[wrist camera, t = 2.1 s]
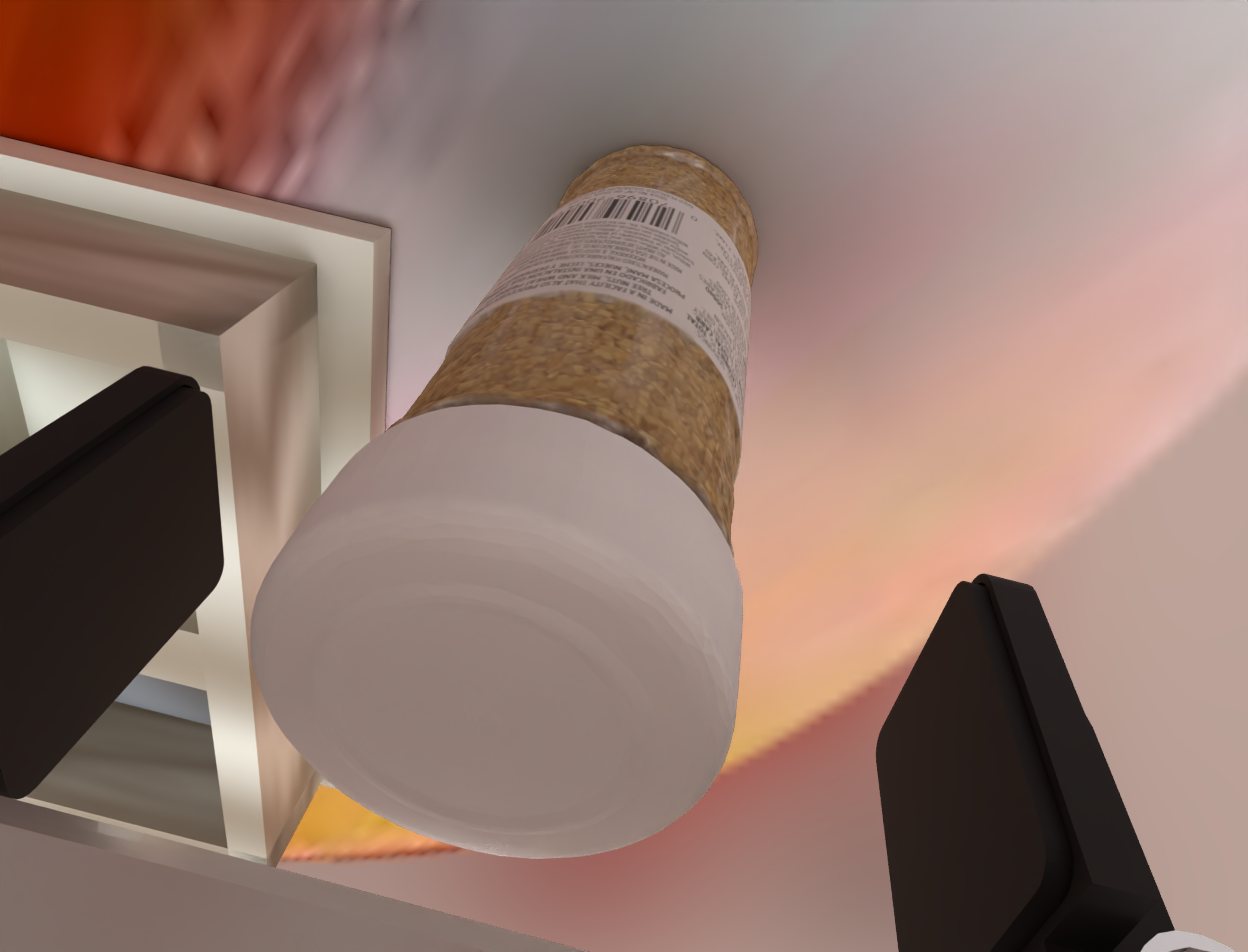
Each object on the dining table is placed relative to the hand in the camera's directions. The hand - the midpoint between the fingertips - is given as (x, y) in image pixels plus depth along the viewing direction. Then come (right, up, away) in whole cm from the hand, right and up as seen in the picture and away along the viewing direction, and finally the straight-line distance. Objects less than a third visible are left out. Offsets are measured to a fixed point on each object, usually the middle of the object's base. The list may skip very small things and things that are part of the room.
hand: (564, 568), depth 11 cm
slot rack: (-12, 0, +14) cm, 19 cm away
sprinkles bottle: (+2, +6, +8) cm, 10 cm away
